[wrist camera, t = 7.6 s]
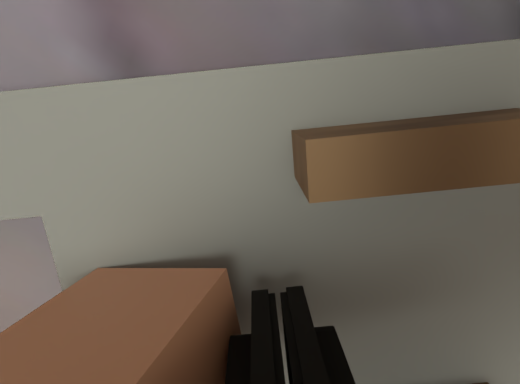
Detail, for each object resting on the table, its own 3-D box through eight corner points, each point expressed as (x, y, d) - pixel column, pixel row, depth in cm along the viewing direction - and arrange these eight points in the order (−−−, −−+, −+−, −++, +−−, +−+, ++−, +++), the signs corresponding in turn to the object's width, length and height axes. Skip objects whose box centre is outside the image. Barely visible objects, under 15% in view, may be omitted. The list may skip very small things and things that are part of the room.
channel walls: (515, 107, 10) (618, 108, 7) (484, 412, 13) (549, 498, 10) (291, 130, 10) (305, 140, 7) (312, 427, 13) (328, 517, 10)
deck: (632, 35, 12) (727, 17, 10) (569, 387, 16) (624, 437, 14) (-167, 116, 12) (-270, 119, 10) (-30, 440, 16) (-79, 498, 14)
